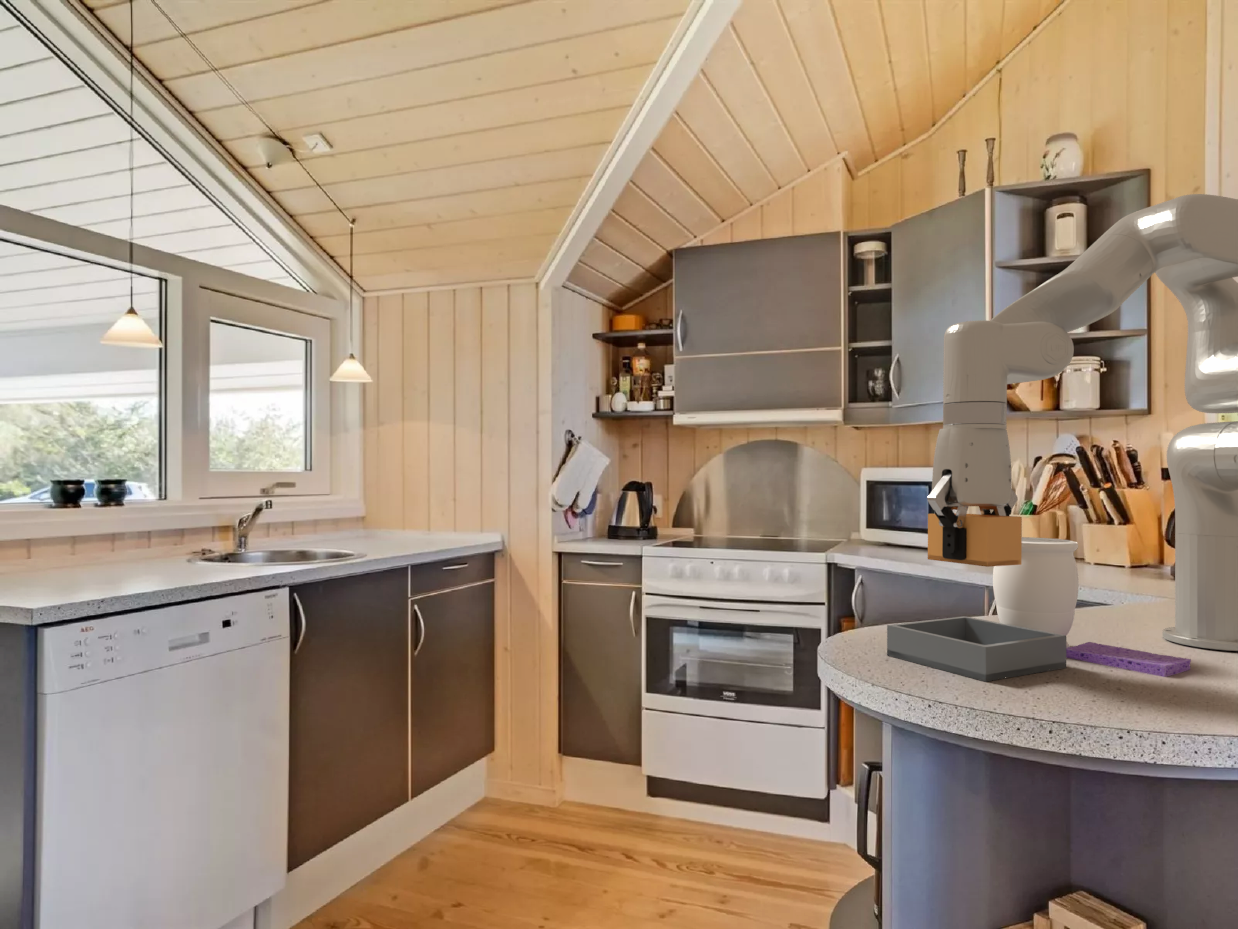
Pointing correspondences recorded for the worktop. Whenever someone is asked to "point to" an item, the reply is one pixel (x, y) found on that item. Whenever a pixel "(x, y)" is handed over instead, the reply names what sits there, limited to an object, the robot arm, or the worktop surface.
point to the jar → (1039, 586)
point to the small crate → (982, 540)
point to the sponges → (1129, 659)
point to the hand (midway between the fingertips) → (973, 556)
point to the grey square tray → (977, 647)
